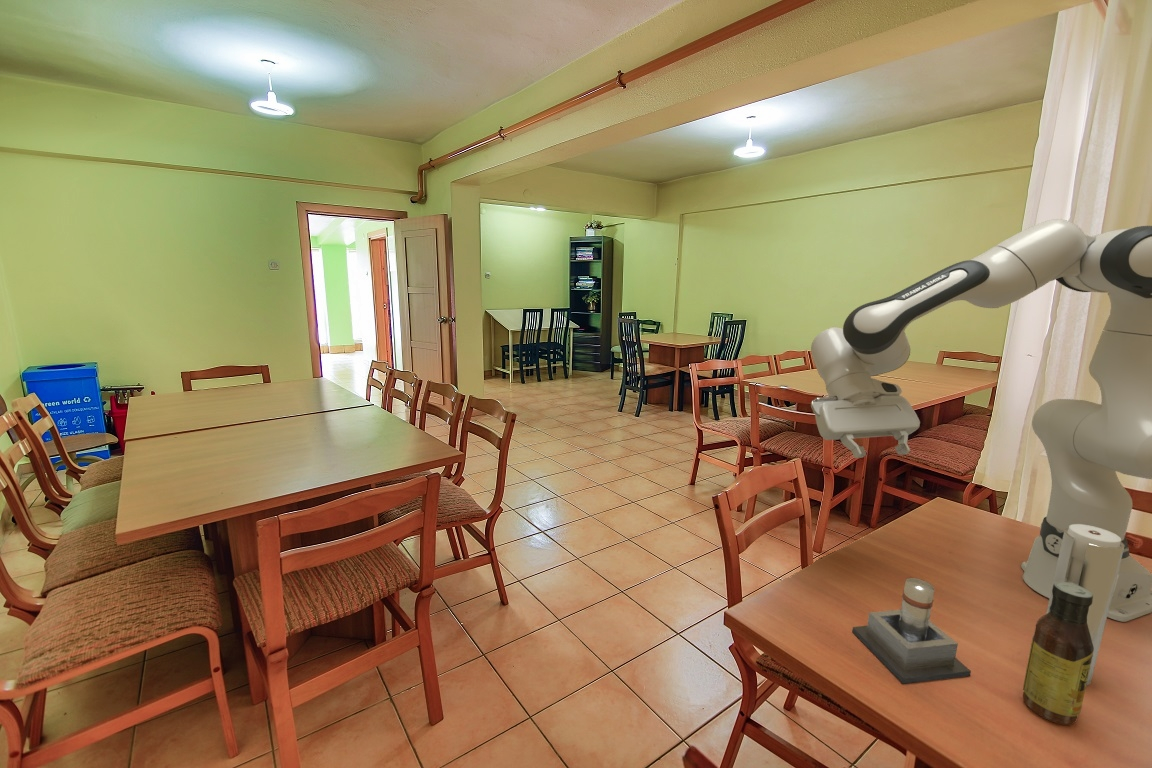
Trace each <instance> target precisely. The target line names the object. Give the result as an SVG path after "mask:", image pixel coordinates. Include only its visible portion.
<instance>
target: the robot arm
mask: <svg viewBox="0 0 1152 768" xmlns="http://www.w3.org/2000/svg"><path fill="white" fill-rule="evenodd" d="M1052 281H1057V282H1058V283H1059V284H1060V285H1061V286H1063V287H1065V288H1067V289H1069V290H1072V291H1075V292H1080V293H1101V294H1102V293H1107V295H1108V297H1109V300H1110V310H1109V311H1110V313H1109V316H1108V317H1107V320H1106V322H1105V324H1104V326H1103V330H1102V332H1101V334H1100V337H1099V339H1098V341H1097V344H1096V347H1095V349H1094V351H1093V354H1092V358H1091V360H1090V363H1089V364H1088V365H1089V366H1088V372H1089V374H1090V376H1091V377H1092V379H1094V381H1095V382H1096V383H1097V384H1098V386H1099V387H1098V388H1099V390H1100V395H1101V404H1100V403H1098V402H1097V403H1096V402H1092V401H1089V400H1085V399H1084V400H1083V399H1072V398H1058V399H1057V398H1056V399H1051V400H1049V401H1047V402H1046V401H1045V403H1043V404H1042V405H1041V406H1039V407H1038V408H1037V410H1036V411H1035V413H1034V415H1033V416H1032V422H1031V426H1032V430H1033V433H1035V435H1036V436H1037V438H1038V439H1039V440H1040V441H1041V443H1042V446H1043V447H1044V450H1045V453H1046V455H1047V456H1046V457H1047V460H1048V464H1049V469H1050V476H1051V490H1050V493H1049V494H1050V495H1049V500H1048V501H1049V502H1048V508H1047V513H1046V516H1045V517H1043V519H1042V522H1041V523H1040V531H1039V536H1036V537H1035V539H1034V541H1033V544H1032V546H1031V550H1030V553H1029V555H1028V558H1027V561H1023V562H1022V563H1021V565H1020V567H1021V569H1022V570H1023V571H1024V572H1023V575H1022V579H1023V581H1024V582H1025V584H1026V585H1028V586H1029V588H1031V589H1032V590H1033V591H1035V592H1036V593H1038V594H1040V595H1042V596H1044V597H1045V598H1048V600H1049V599H1050V594H1051V590H1052V585H1053V580H1054V576H1055V571H1056V567H1057V562H1058V558H1059V553H1060V548H1061V544H1062V539H1063V535H1064V531H1065V529H1067V528H1069V526H1070V525H1072V524H1083V525H1089V526H1094V527H1098V528H1101V529H1104V530H1107V531H1110V532H1112V533H1114V534H1116V535H1118V536H1119V537H1120V538H1121V542H1122V543H1123V544H1124V551H1123V555H1122V559H1121V563H1120V567H1119V571H1118V575H1117V579H1116V583H1115V587H1114V591H1113V595H1112V599H1111V603H1110V607H1109V611H1108V615H1107V618H1108V619H1112V620H1115V621H1118V622H1122V623H1123V622H1124V623H1125V622H1129V621H1132V620H1134V619H1135V620H1136V619H1137V618H1140V617H1142V616H1145V615H1148V614H1151V613H1152V573H1151V572H1150V571H1149V569H1147V568H1146V567H1145V566H1143V565H1142V564H1141V563H1140V562H1139V561H1138V560H1136V558H1134V557H1133V556H1132V555H1131V554H1130V549H1129V546H1131V548H1134V549H1140V548H1141V547H1142V546H1143V544H1144V541H1143V538H1140V537H1135V536H1133V535H1131V534H1127V529H1128V526H1129V521H1130V517H1131V514H1132V510H1133V499H1132V497H1131V494H1130V493H1129V491H1128V490H1126V488H1125V487H1124V486H1123V484H1122V483H1121V481H1120V479H1119V478H1118V475H1117V473H1120V474H1123V475H1127V476H1132V477H1136V478H1141V479H1148V480H1152V225H1140V226H1135V227H1128V228H1120V229H1114V230H1109V231H1106V232H1103V233H1100V234H1094V235H1087V234H1086V233H1085V232H1084V231H1083V230H1082V228H1081V227H1079V226H1078V225H1077V224H1075V223H1074V222H1071V221H1069V220H1065V219H1062V218H1056V219H1055V218H1052V219H1047V220H1045V221H1042V222H1040V223H1037V224H1034V225H1032V226H1031V227H1028V228H1026V229H1024V230H1021V231H1020V232H1018V233H1015V234H1014V235H1012V236H1010V237H1008V238H1006V239H1004V240H1002V241H1001V242H999V243H998V244H996V245H994V246H992V247H991V248H989V249H988V250H986V251H984V252H983V253H981V254H979V255H977V256H974V257H972V258H971V259H969V260H962V261H959V262H955V263H953V264H952V265H949V266H947V267H945V268H943V269H940V270H939V271H937V272H935V273H933V274H931V275H929V276H927V277H925V278H923V279H922V280H919V281H917V282H915V283H914V284H911V285H910V286H907V287H905V288H903V289H902V290H900V291H898V292H895V293H894V294H892V295H890V296H887V297H884V298H881V299H878V300H877V299H876V300H873V301H870V302H867V303H864V304H862V305H859V306H858V307H857V308H854V309H853V310H852V311H851V312H850V313H849V314H848V316H847V317H846V318H845V320H844V322H843V325H842V327H843V328H841V327H839V326H838V327H837V326H835V327H834V326H832V327H828V328H827V329H824V330H822V331H821V332H820V333H818V334H817V335H816V336H815V337H814V339H813V340H812V343H811V346H810V351H811V357H812V360H813V363H814V365H815V369H816V370H817V373H818V375H819V376H820V378H821V380H823V381H824V384H825V391H826V392H827V394H828V396H826V397H822V396H818V397H815V398H814V399H813V400H811V402H810V407H811V410H812V412H813V414H814V418H815V424H816V426H817V429H818V432H819V435H820V436H821V437H822V438H823V439H824V440H826V441H834V440H835V441H836V440H840V442H841V444H842V445H843V446H845V448H847V450H849V451H851V453H852V455H853V457H854V459H861V458H864V457H865V456H867V452H866V451H865V448H864V446H859V444H857V442H855V441H854V439H864V438H865V439H866V438H879V437H893V438H894V439H895V440H897V446H895V447H894V449H895V451H896V454H897V455H899V456H903V455H908V454H909V453H911V449H910V446H909V445H908V442H909V441H908V439H909V435H911V434H912V433H914V432H916V431H917V430H918V429H919V428H920V424H921V421H920V419H919V417H918V414H917V413H916V411H915V410H914V408H913V406H912V405H911V403H910V402H909V400H907V398H905V396H902V395H901V394H902V392H903V391H902V388H901V387H900V386H899V385H898V384H895V383H892V382H887V381H882V380H879V379H876V378H872V377H874V376H879V375H883V374H887V373H890V372H892V371H895V370H898V369H899V368H901V367H902V366H904V365H905V364H906V363H907V362H908V360H909V358H910V356H911V346H910V343H909V340H908V337H907V335H906V332H905V331H906V329H907V328H908V326H909V325H910V324H911V323H913V322H914V321H916V320H918V319H920V318H922V317H924V316H927V315H929V313H933V312H934V311H936V310H938V309H940V308H942V307H944V306H946V305H948V304H950V303H954V302H956V301H965V302H968V303H969V304H972V305H973V306H976V307H979V308H983V309H998V308H1001V307H1005V306H1008V305H1010V304H1013V303H1015V302H1017V301H1019V300H1021V299H1022V298H1025V297H1027V296H1028V295H1030V294H1031V293H1033V292H1036V291H1037V290H1038V289H1040V288H1042V287H1044V286H1045V285H1047V284H1048V283H1050V282H1052ZM1126 534H1127V535H1126Z"/></svg>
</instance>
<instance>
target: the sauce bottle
mask: <svg viewBox="0 0 1152 768" xmlns="http://www.w3.org/2000/svg"><path fill="white" fill-rule="evenodd" d="M1052 593H1053V599H1052V604H1051V606H1050V612H1049V613H1047V614H1044V615H1042V616H1041V617H1040V618H1038V619H1037V621H1036V624H1035V629H1034V634H1033V636H1032V638H1031V639H1032V640H1031V644H1030V649H1029V653H1028V659H1027V664H1026V670H1025V675H1024V680H1023V687H1022V690H1023V692H1022V699H1023V702H1024V703H1025V705H1026V706H1027V707H1028V708H1029V709H1030V710H1031V711H1032V712H1033V713H1035V714H1036V715H1038V716H1039V717H1042V718H1043V719H1045V720H1048V721H1050V722H1052V723H1056V724H1059V725H1063V726H1065V725H1067V726H1069V725H1073V724H1074V723H1076V721H1077V720H1078V716H1079V715H1080V714H1081V710H1082V706H1083V701H1084V696H1085V693H1086V692H1085V691H1086V688H1087V686H1086V684H1087V680H1088V675H1089V670H1090V665H1091V661H1092V657H1093V651H1094V647H1093V644H1092V640H1091V636H1090V632H1089V628H1088V624H1087V615H1088V611H1089V606H1090V605H1091V604H1092V601H1093V594H1092V593H1091V592H1090V591H1088V590H1087V589H1085V588H1083V587H1081V586H1078V585H1076V584H1072V583H1068V582H1055V583H1054V585H1053V589H1052Z"/></svg>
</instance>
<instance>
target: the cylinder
mask: <svg viewBox="0 0 1152 768" xmlns="http://www.w3.org/2000/svg"><path fill="white" fill-rule="evenodd" d="M934 594H935V587H934V586H933V585H932V584H931V583H929V582H927V580H922V579H920V578H917V577H916V578H914V577H910V578H909V577H908V578H906V579H905V583H904V589H903V591H902V599H901V600H902V602H901V608H900V610H901V613H900V619H899V625H898V631H897V632H898V633H899V634H900V635H901V636H902V637H903V638H904V639H906V640H907V641H908V642H909V643H912V642H921V641H926V636H927V630H928V624H929V620H930V619H931V618H930V617H931V611H932V608H933V605H934Z"/></svg>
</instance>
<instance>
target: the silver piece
mask: <svg viewBox="0 0 1152 768" xmlns="http://www.w3.org/2000/svg"><path fill="white" fill-rule="evenodd" d="M1123 551H1124V544H1123V543H1122V542H1121V538H1120V537H1119V536H1118V535H1116V534H1114V533H1112V532H1110V531H1107V530H1104V529H1101V528H1098V527H1094V526H1089V525H1083V524H1072V525H1070V526H1069V528H1067V529H1065V531H1064V535H1063V539H1062V544H1061V548H1060V553H1059V558H1058V562H1057V567H1056V571H1055V576H1054V580H1053V585H1054V583H1055V582H1068V583H1072V584H1076V585H1078V586H1081V587H1083V588H1085V589H1087V590H1088V591H1090V592H1091V593H1092V594H1093V601H1092V604H1091V605H1090V606H1089V611H1088V615H1087V624H1088V628H1089V632H1090V636H1091V640H1092V644H1093V647H1094V651H1093V657H1092V661H1091V665H1090V670H1089V675H1088V680H1087V684H1086V687H1087V686H1089V685H1090V684H1092V678H1093V676H1094V671H1095V668H1096V667H1095V666H1096V664H1097V660H1098V659H1097V658H1098V655H1099V651H1100V647H1101V643H1102V639H1103V636H1104V631H1105V627H1106V624H1107V618H1108V617H1107V615H1108V611H1109V607H1110V603H1111V599H1112V595H1113V591H1114V587H1115V583H1116V579H1117V575H1118V571H1119V567H1120V563H1121V559H1122V555H1123ZM1053 585H1052V589H1053ZM1052 599H1053V593H1052V590H1051V594H1050V599H1049V598H1048V603H1047V604H1048V605H1047V609H1046V614H1047V613H1049V612H1050V606H1051V604H1052Z"/></svg>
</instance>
